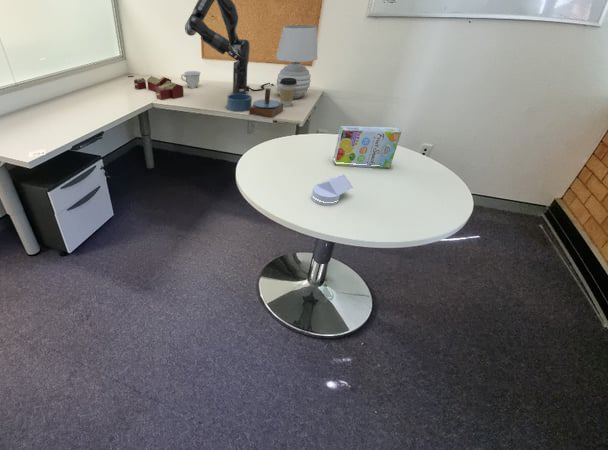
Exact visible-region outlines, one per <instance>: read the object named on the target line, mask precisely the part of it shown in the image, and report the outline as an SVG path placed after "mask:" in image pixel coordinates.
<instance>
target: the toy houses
mask: <svg viewBox="0 0 608 450" xmlns="http://www.w3.org/2000/svg"><path fill="white" fill-rule="evenodd" d="M133 82H134V83H133V85H134V88H135V89H136V90H139V91H140V90H146V89H148V90H149V91H151V92H154V95H155V97H156V99H157V100H159V101H163V100H164V101H165V100H168V99H173V100H174V99H178V98H184V96H185V95H184V94H185V93H184V88H185V86H184V85H181V84H179V83H176V82H174V81H173V82H172V79H170V78H168V77H164V76H162V77H161V78H158V77H155V76H150V77H148V78H147V79H145V78H144V77H140V78H135V79H134V80H133Z"/></svg>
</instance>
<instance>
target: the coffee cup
mask: <svg viewBox="0 0 608 450" xmlns="http://www.w3.org/2000/svg"><path fill="white" fill-rule="evenodd" d="M280 83H281V88H280V93H279V94H280V95H279V96H280V99H279V100H280V103H283V108H289V107H292V104H293V103H292V102H293V100H294V99H293V96H294V91H295V86H296V84H297V81H296V79H294V78H283V79H281V81H280Z"/></svg>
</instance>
